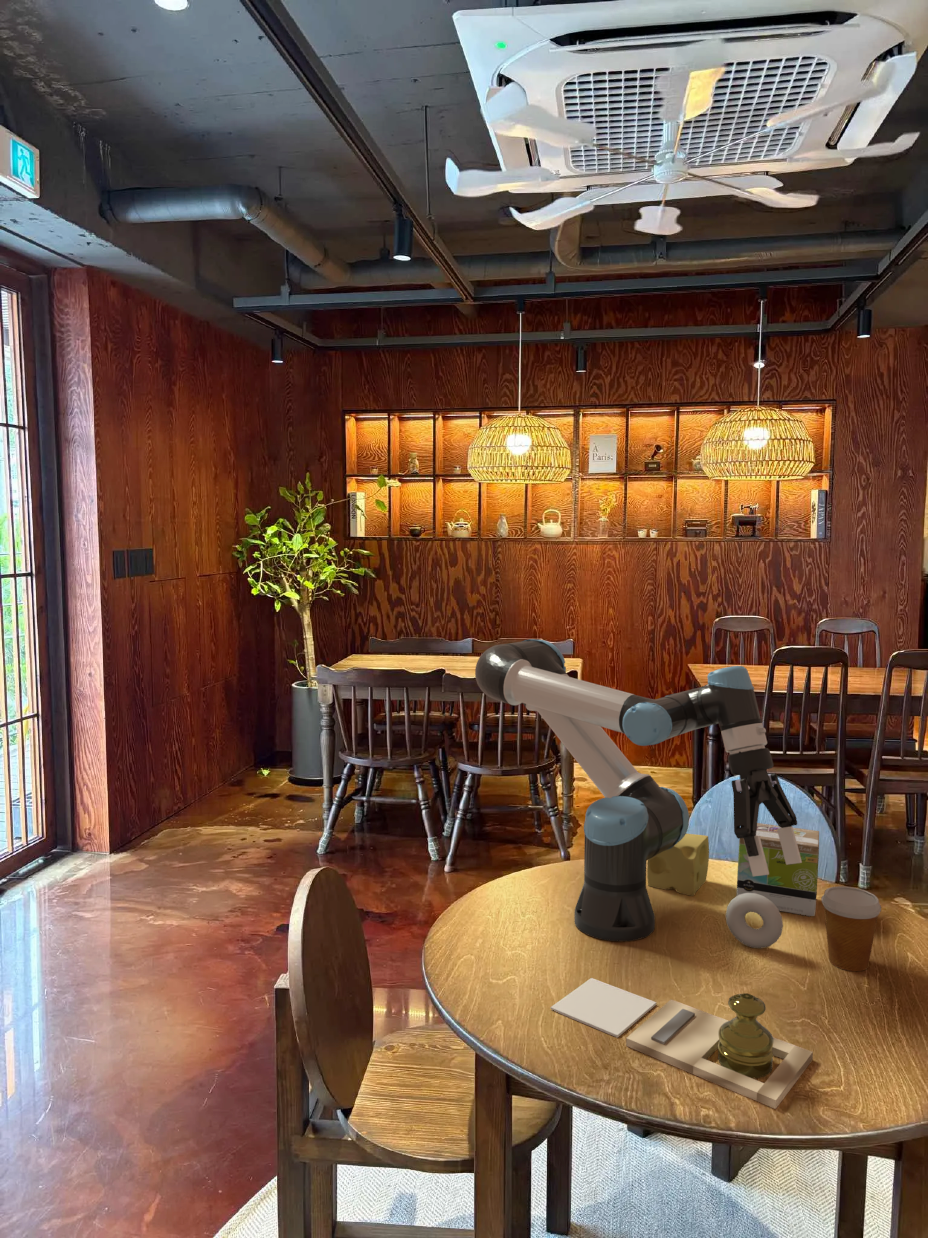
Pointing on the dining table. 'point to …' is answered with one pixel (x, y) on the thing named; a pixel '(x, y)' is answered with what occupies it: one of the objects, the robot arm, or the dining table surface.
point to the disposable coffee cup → (850, 926)
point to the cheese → (681, 865)
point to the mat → (604, 1007)
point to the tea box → (783, 871)
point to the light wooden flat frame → (695, 1038)
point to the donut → (763, 908)
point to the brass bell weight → (746, 1039)
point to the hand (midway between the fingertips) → (778, 869)
